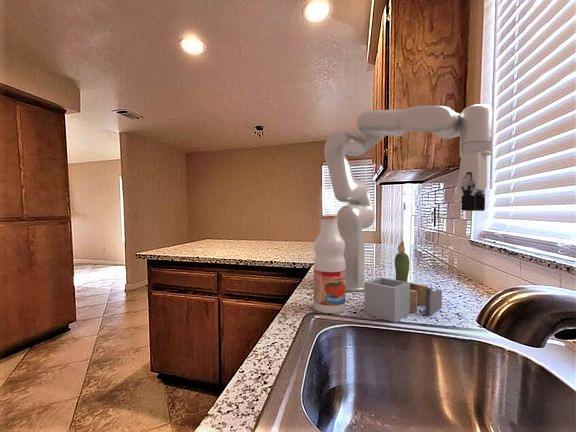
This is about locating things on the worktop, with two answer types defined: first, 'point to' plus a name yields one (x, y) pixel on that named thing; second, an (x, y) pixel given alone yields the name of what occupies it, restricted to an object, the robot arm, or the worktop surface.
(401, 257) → the vegetable
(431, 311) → the grey square panel
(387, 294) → the grey open box
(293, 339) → the worktop surface
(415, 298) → the holder
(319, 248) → the fruit juice
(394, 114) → the robot arm
